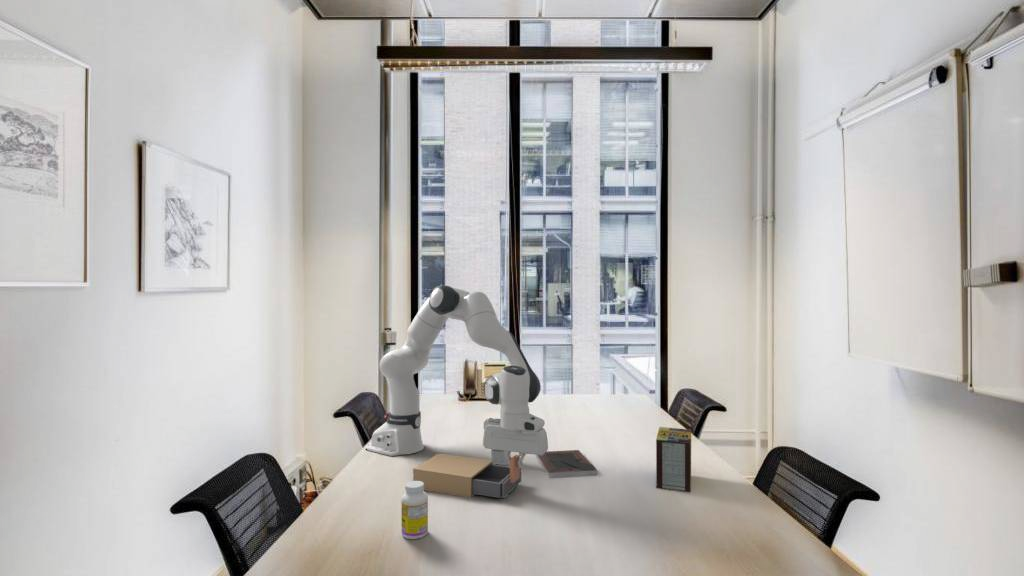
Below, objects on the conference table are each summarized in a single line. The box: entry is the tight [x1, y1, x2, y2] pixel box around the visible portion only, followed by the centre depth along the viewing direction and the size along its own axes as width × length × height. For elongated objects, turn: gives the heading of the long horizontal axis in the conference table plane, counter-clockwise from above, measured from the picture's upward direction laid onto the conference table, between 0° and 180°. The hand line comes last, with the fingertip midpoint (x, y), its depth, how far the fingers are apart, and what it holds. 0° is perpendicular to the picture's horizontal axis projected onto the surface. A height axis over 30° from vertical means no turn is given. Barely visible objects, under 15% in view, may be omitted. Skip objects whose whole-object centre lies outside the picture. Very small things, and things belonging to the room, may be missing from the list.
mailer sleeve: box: [412, 453, 494, 498], centre depth 170 cm, size 20×16×6 cm
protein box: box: [655, 426, 692, 493], centre depth 171 cm, size 10×15×16 cm
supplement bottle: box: [400, 480, 429, 540], centre depth 135 cm, size 7×7×13 cm
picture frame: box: [535, 449, 598, 478], centre depth 187 cm, size 16×2×22 cm
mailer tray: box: [472, 454, 522, 499], centre depth 166 cm, size 22×14×10 cm, turn 68°
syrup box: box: [490, 449, 511, 466], centre depth 190 cm, size 6×6×14 cm
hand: (514, 465), depth 162 cm, fingers closed on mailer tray
